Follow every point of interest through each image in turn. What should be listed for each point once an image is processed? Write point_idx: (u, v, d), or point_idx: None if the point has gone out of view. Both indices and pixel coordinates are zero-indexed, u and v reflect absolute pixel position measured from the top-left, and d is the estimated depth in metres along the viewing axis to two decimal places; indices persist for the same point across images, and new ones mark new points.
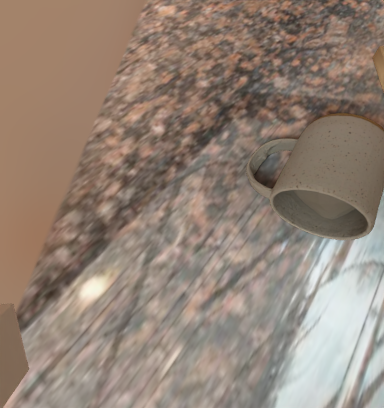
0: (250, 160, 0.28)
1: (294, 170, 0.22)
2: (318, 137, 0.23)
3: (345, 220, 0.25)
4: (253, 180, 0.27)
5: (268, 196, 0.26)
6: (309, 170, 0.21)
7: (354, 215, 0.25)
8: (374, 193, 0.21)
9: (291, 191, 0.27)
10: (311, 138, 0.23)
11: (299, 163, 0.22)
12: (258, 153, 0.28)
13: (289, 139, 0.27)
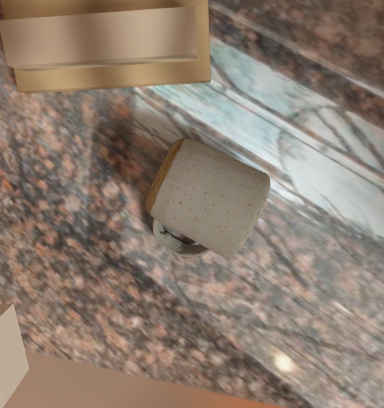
0: (174, 252, 0.29)
1: (213, 248, 0.23)
2: (179, 225, 0.23)
3: None
4: (199, 254, 0.28)
5: None
6: (219, 243, 0.22)
7: None
8: (244, 186, 0.21)
9: None
10: (177, 228, 0.23)
11: (205, 243, 0.23)
12: (166, 244, 0.29)
13: (155, 220, 0.27)
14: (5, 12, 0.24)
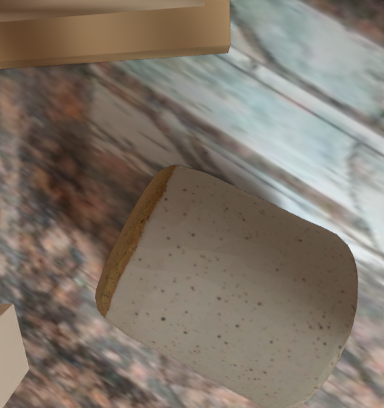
0: (162, 352, 0.17)
1: None
2: (163, 352, 0.11)
3: None
4: None
5: None
6: (248, 394, 0.10)
7: None
8: (307, 280, 0.10)
9: None
10: (159, 351, 0.11)
11: None
12: None
13: None
14: None
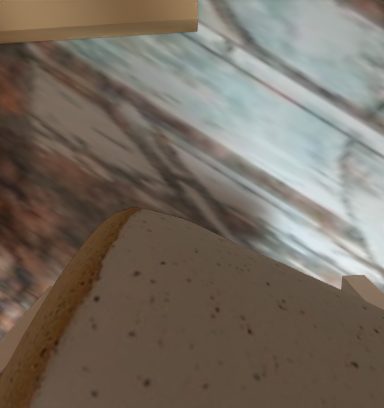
0: None
1: None
2: None
3: None
4: None
5: None
6: None
7: None
8: None
9: None
10: None
11: None
12: None
13: None
14: None
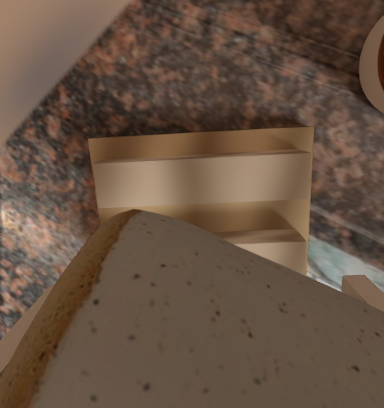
0: None
1: None
2: None
3: None
4: None
5: None
6: None
7: None
8: None
9: None
10: None
11: None
12: None
13: None
14: (102, 220, 0.23)
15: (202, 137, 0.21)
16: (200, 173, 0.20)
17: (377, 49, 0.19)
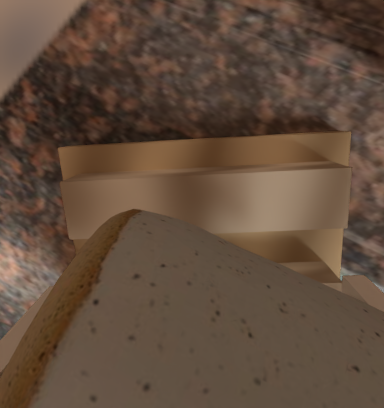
0: None
1: None
2: None
3: None
4: None
5: None
6: None
7: None
8: None
9: None
10: None
11: None
12: None
13: None
14: (78, 250, 0.18)
15: (205, 145, 0.17)
16: (203, 195, 0.15)
17: None
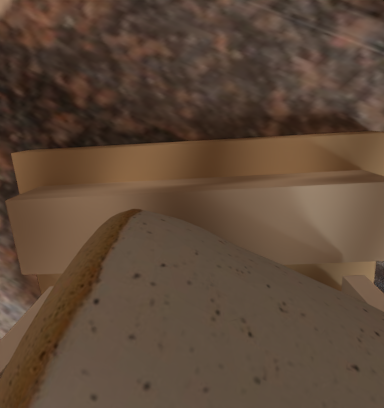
0: None
1: None
2: None
3: None
4: None
5: None
6: None
7: None
8: None
9: None
10: None
11: None
12: None
13: None
14: (43, 281, 0.15)
15: (201, 150, 0.13)
16: (199, 217, 0.11)
17: None
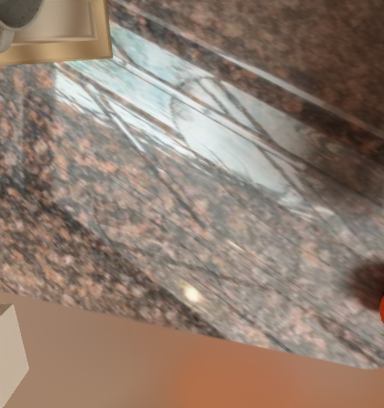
0: None
1: None
2: None
3: None
4: None
5: (10, 33, 0.27)
6: None
7: None
8: None
9: (4, 7, 0.27)
10: None
11: None
12: None
13: None
14: None
15: None
16: None
17: None
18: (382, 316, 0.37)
